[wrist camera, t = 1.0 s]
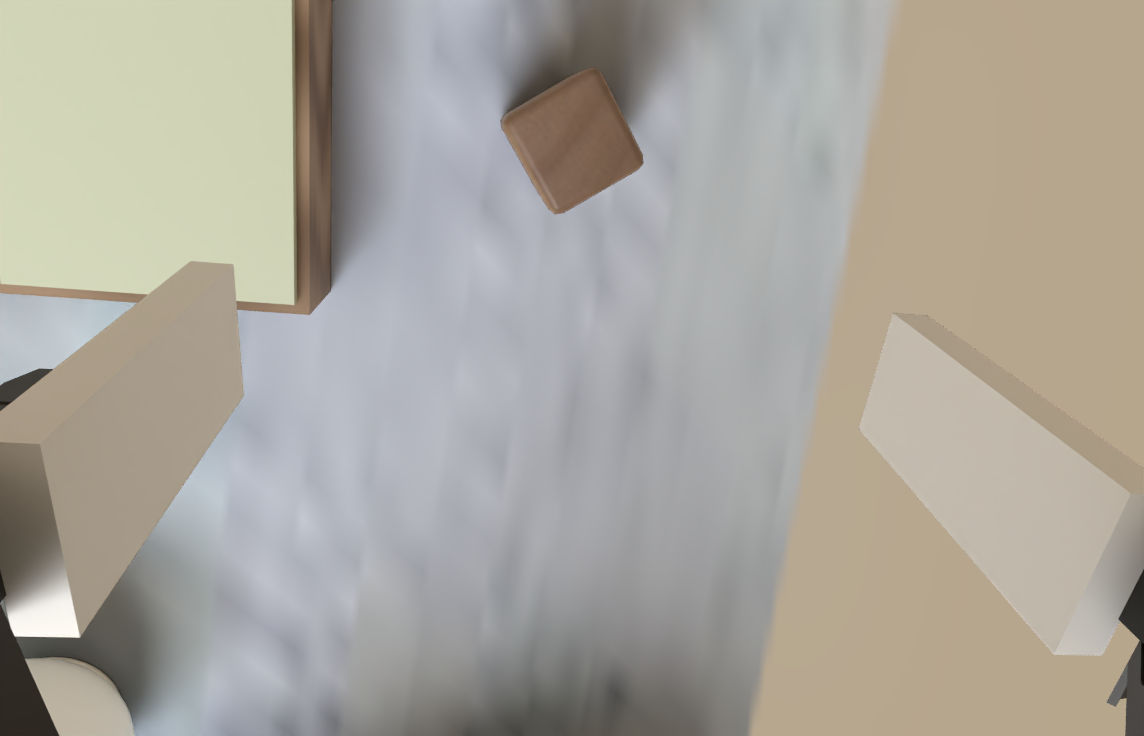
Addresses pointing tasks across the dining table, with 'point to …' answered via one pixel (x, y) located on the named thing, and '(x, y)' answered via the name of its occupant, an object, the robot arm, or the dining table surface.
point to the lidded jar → (80, 698)
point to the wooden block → (572, 140)
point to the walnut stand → (166, 147)
